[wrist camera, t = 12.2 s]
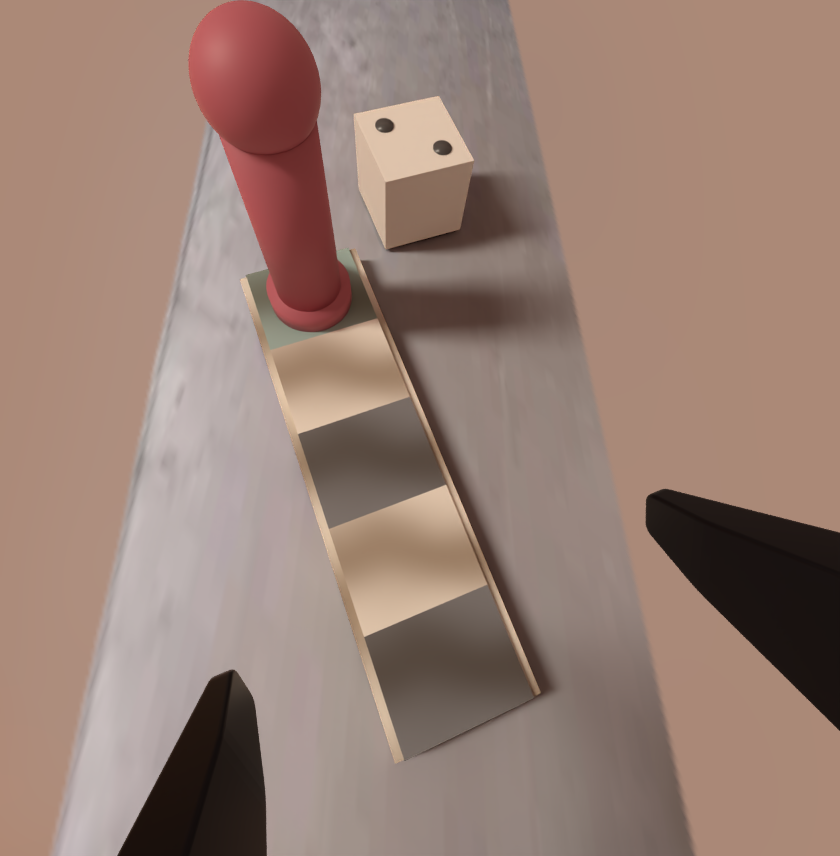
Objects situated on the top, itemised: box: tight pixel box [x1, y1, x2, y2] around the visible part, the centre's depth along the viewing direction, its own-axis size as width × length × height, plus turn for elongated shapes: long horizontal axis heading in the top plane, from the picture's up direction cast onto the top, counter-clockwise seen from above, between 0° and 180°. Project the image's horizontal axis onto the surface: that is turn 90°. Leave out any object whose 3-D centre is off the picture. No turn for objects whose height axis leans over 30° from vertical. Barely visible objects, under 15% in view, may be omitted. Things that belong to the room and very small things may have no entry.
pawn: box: [188, 0, 352, 332], centre depth 20 cm, size 4×4×14 cm
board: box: [240, 248, 541, 764], centre depth 24 cm, size 25×7×1 cm, turn 21°
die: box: [354, 96, 474, 249], centre depth 27 cm, size 5×5×5 cm
